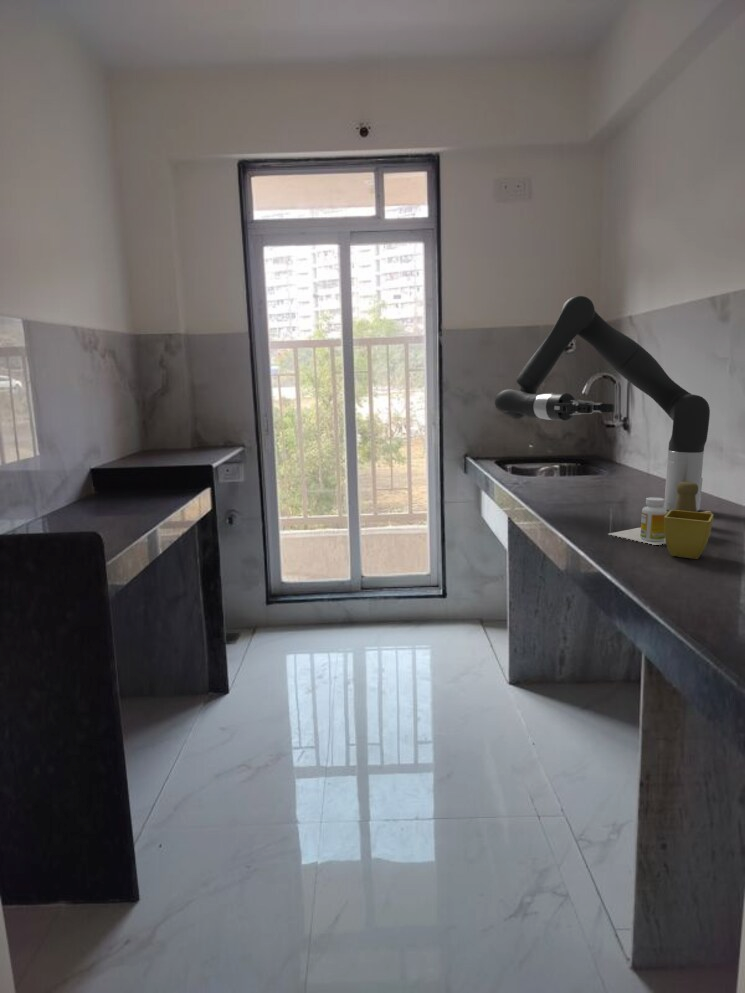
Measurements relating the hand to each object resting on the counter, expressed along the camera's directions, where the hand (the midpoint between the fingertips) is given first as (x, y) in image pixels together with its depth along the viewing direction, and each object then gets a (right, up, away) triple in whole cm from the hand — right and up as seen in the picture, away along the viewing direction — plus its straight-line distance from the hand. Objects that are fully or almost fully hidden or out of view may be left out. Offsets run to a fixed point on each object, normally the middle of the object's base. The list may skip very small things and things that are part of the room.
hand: (602, 408), depth 170 cm
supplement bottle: (+6, -33, -15) cm, 37 cm away
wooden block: (+19, -33, -12) cm, 40 cm away
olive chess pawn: (+23, -30, +3) cm, 38 cm away
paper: (+9, -32, -10) cm, 35 cm away
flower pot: (+8, -36, -28) cm, 46 cm away
